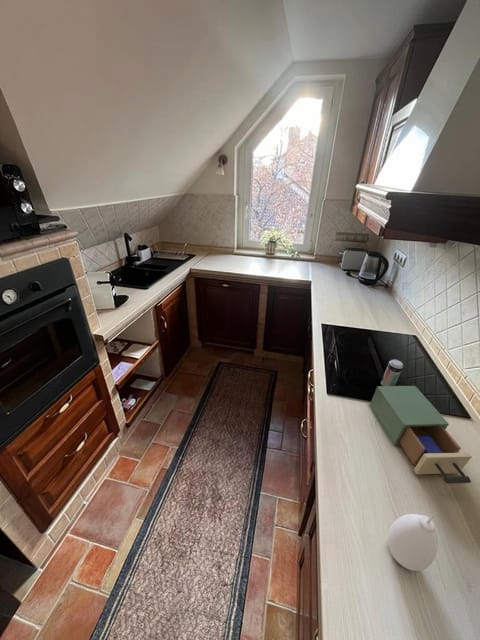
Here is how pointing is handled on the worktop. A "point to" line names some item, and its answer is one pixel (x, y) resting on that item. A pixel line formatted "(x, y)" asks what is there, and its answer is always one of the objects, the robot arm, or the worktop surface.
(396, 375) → the beer can
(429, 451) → the blue block
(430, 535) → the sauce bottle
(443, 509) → the worktop surface
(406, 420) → the cabinet
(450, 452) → the drawer
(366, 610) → the worktop surface
